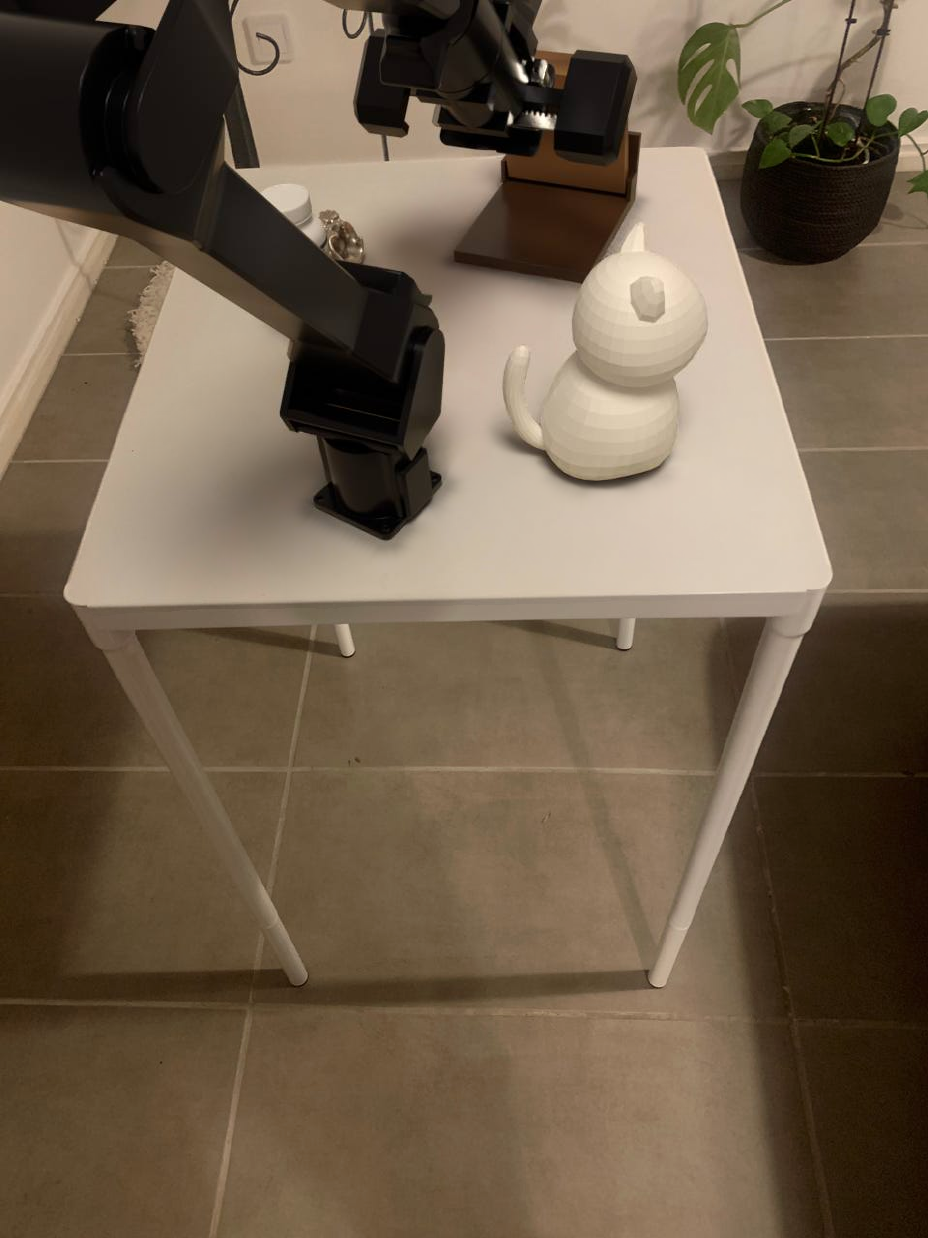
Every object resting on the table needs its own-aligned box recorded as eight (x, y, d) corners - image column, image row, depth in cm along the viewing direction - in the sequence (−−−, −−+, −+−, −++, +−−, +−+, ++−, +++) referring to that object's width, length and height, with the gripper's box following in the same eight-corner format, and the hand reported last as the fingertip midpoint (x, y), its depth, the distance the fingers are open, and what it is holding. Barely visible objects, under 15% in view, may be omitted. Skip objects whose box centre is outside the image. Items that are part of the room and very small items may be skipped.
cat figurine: (698, 491, 62) (738, 289, 50) (510, 506, 62) (505, 308, 50) (672, 403, 67) (703, 203, 56) (499, 417, 67) (493, 220, 56)
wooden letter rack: (624, 81, 73) (635, 56, 73) (492, 66, 76) (504, 42, 76) (625, 194, 83) (634, 170, 83) (508, 176, 86) (518, 154, 86)
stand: (589, 285, 77) (593, 215, 72) (452, 260, 80) (448, 192, 76) (636, 199, 85) (642, 132, 80) (510, 181, 88) (509, 114, 83)
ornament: (379, 240, 83) (373, 201, 80) (350, 284, 79) (343, 244, 76) (296, 230, 85) (288, 191, 82) (264, 272, 81) (254, 232, 78)
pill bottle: (262, 309, 77) (232, 195, 70) (317, 284, 79) (294, 170, 72) (296, 339, 75) (268, 223, 67) (352, 312, 76) (332, 196, 69)
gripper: (644, -95, 52) (671, 43, 67) (345, -114, 57) (432, 19, 72) (593, 115, 54) (630, 204, 69) (308, 79, 59) (400, 169, 74)
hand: (521, 144), depth 71 cm, fingers closed
